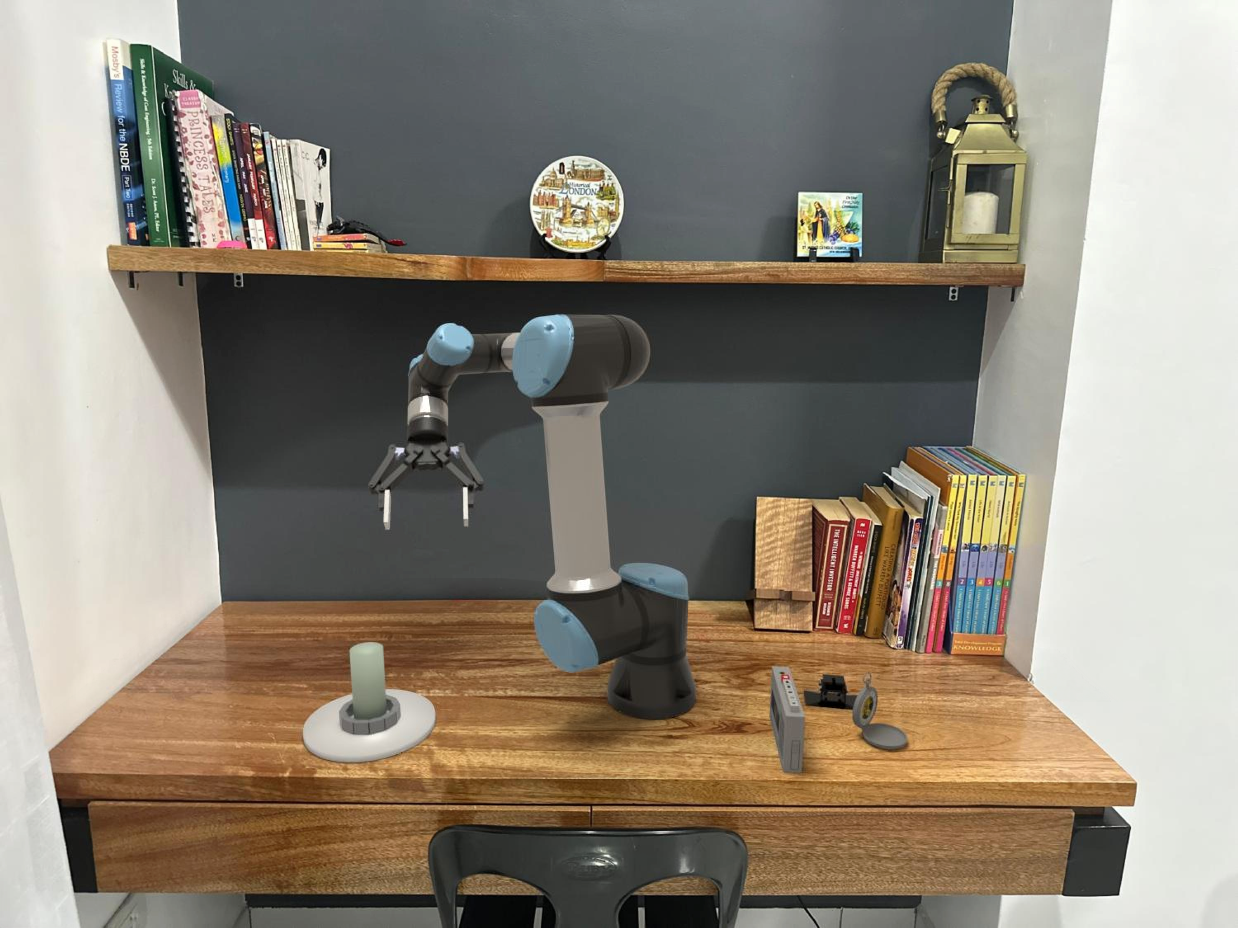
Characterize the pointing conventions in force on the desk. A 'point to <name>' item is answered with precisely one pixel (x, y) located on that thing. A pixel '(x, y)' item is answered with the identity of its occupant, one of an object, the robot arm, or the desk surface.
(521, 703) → the desk surface
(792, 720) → the cassette player
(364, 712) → the sage green cylinder
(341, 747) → the carrier plate
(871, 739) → the pocket watch
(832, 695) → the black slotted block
